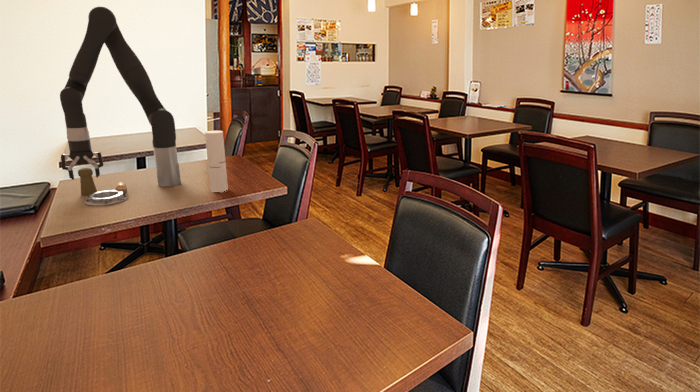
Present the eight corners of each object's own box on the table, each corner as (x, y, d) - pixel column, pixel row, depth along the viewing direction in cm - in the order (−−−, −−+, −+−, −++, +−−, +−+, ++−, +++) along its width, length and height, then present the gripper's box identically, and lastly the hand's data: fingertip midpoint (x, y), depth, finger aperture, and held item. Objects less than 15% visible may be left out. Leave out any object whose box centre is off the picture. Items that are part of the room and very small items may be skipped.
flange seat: (127, 192, 182) (126, 187, 181) (128, 202, 169) (127, 197, 168) (86, 197, 175) (84, 191, 174) (83, 208, 162) (82, 202, 162)
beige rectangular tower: (231, 190, 186) (226, 131, 178) (216, 193, 181) (210, 133, 173) (222, 186, 190) (217, 129, 183) (207, 190, 185) (201, 131, 178)
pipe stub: (116, 190, 185) (114, 181, 183) (127, 189, 186) (125, 179, 185) (116, 195, 178) (114, 185, 176) (127, 194, 180) (126, 184, 178)
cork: (90, 197, 176) (85, 170, 173) (77, 196, 177) (72, 169, 174) (101, 192, 182) (96, 167, 178) (88, 191, 183) (83, 166, 179)
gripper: (99, 136, 179) (105, 174, 183) (58, 138, 172) (65, 177, 177) (99, 139, 172) (105, 178, 177) (56, 141, 166) (63, 182, 171)
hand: (85, 178), depth 177 cm, fingers open, 8 cm apart
